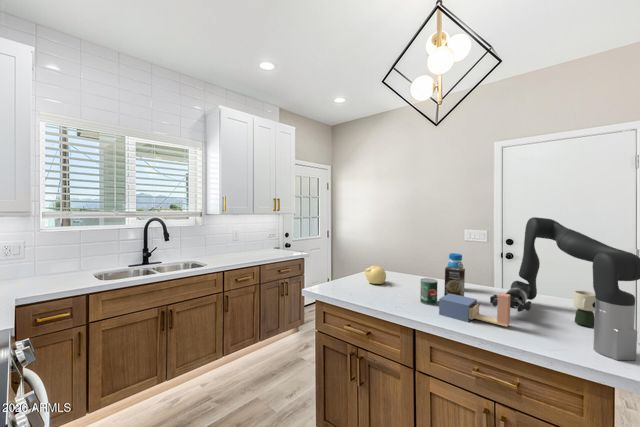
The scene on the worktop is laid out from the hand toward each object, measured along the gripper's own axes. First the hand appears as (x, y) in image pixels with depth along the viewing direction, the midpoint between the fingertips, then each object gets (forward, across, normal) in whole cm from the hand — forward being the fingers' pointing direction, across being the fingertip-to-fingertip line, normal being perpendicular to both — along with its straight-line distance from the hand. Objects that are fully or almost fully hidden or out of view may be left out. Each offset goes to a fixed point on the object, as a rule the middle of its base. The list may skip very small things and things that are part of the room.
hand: (506, 306), depth 121 cm
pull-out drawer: (+4, -10, +6) cm, 12 cm away
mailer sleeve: (+4, -18, +7) cm, 19 cm away
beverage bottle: (-35, -33, +7) cm, 49 cm away
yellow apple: (-14, -72, +7) cm, 74 cm away
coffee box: (-16, -26, +7) cm, 31 cm away
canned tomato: (-3, -34, +7) cm, 35 cm away
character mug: (-21, +23, +7) cm, 32 cm away
